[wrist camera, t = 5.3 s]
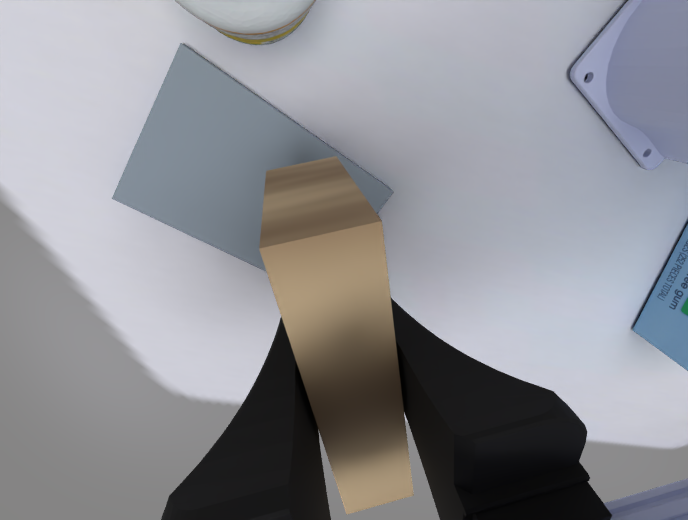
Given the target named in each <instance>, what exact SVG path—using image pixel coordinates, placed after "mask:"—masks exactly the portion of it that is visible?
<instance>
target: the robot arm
mask: <svg viewBox="0 0 688 520" xmlns="http://www.w3.org/2000/svg"><path fill="white" fill-rule="evenodd" d="M586 74H588V77H587V79H586V81H585V82H584V77H585V75H586ZM570 78H571V80H572V81H573V83H574V84H575V85H576V86H577V87H578V89H579V90H580V91H581V92H582V94H583V95H584V96H585V97H586V99H587V100H588V101H589V102H590V104H591V105H592V106H593V107H594V108H595V110H596V111H597V112H598V113H599V115H600V116H601V117H602V118H603V120H604V121H605V122H606V123H607V125H608V126H609V127H610V128H611V129H612V131H613V132H614V133H615V134H616V136H617V137H618V138H619V139H620V141H621V142H622V143H623V144H624V145H625V147H626V148H627V149H628V150H629V152H630V153H631V154H632V155H633V157H634V158H635V159H636V160H637V162H638V163H639V164H640V165H641V166H642V168H644V169H647V170H652V169H654V168H656V167H657V166H658V165H659V164H660V163H661V162H662V161H663V160H664V159H665V158H667V159H671V160H675V161H679V162H683V163H687V164H688V0H628V1H627V2H626V4H625V5H624V6H623V7H622V8H621V10H620V11H619V12H618V13H617V14H616V15H615V17H614V18H613V19H612V20H611V21H610V23H609V24H608V25H607V26H606V27H605V28H604V30H603V31H602V32H601V33H600V34H599V36H598V37H597V38H596V39H595V40H594V42H593V43H592V44H591V45H590V46H589V47H588V49H587V50H586V51H585V52H584V53H583V55H582V56H581V57H580V58H579V59H578V61H577V62H576V63H575V64H574V65H573V67H572V69H571V71H570ZM643 153H644V154H643ZM391 305H392V314H393V322H394V331H395V340H396V348H397V357H398V365H399V374H400V383H401V391H402V400H403V408H404V413H405V415H406V418H407V420H408V423H409V426H410V429H411V432H412V435H413V438H414V440H415V444H416V446H417V450H418V452H419V456H420V459H421V462H422V465H423V468H424V470H425V474H426V477H427V480H428V483H429V486H430V489H431V492H432V495H433V499H434V502H435V505H436V508H437V511H438V514H439V517H440V520H688V478H687V479H684V480H680V481H677V482H674V483H670V484H667V485H664V486H660V487H657V488H654V489H650V490H647V491H644V492H640V493H637V494H633V495H630V496H626V497H623V498H620V499H616V500H613V501H610V502H606V503H603V502H602V501H601V499H600V498H599V497H598V495H597V494H596V493H595V491H594V490H593V489H592V487H591V486H590V485H589V483H588V482H587V481H589V479H590V477H589V475H588V473H587V472H586V471H585V469H584V468H583V466H582V465H581V464H580V463H579V459H580V457H581V454H582V451H583V448H584V445H585V443H586V437H587V430H586V427H585V425H584V423H583V422H582V421H581V420H580V419H579V418H578V416H577V415H576V414H575V413H574V412H573V411H572V410H571V408H570V407H569V406H568V405H567V404H566V403H565V402H564V401H563V400H562V399H560V398H559V397H558V396H557V395H556V394H555V393H554V392H553V391H551V390H548V389H545V388H542V387H539V386H537V385H534V384H531V383H528V382H525V381H522V380H519V379H517V378H514V377H512V376H510V375H507V374H505V373H503V372H500V371H498V370H496V369H493V368H491V367H489V366H487V365H485V364H483V363H481V362H479V361H477V360H475V359H473V358H471V357H469V356H467V355H466V354H464V353H462V352H460V351H459V350H457V349H455V348H454V347H452V346H451V345H449V344H447V343H446V342H444V341H443V340H441V339H440V338H438V337H437V336H436V335H434V334H433V333H431V332H430V331H429V330H427V329H426V328H425V327H423V326H422V325H421V324H420V323H418V322H417V321H416V320H415V319H414V318H412V317H411V316H410V315H409V314H408V313H407V312H405V311H404V310H403V309H402V308H401V307H400V306H399V305H398V304H397V303H396V302H395V301H394V300H393V299H392V298H391ZM161 520H331V517H330V511H329V505H328V499H327V492H326V485H325V478H324V472H323V465H322V458H321V451H320V443H319V433H318V426H317V423H316V420H315V417H314V414H313V411H312V408H311V405H310V401H309V398H308V395H307V392H306V389H305V386H304V383H303V380H302V377H301V374H300V371H299V368H298V365H297V362H296V359H295V356H294V353H293V350H292V347H291V344H290V341H289V338H288V335H287V332H286V329H285V326H284V323H283V320H282V316H281V319H280V323H279V326H278V329H277V332H276V335H275V338H274V341H273V343H272V346H271V348H270V351H269V353H268V356H267V358H266V360H265V363H264V365H263V367H262V369H261V371H260V373H259V375H258V377H257V379H256V381H255V383H254V385H253V387H252V389H251V390H250V392H249V394H248V396H247V397H246V399H245V401H244V402H243V404H242V406H241V407H240V409H239V410H238V412H237V413H236V415H235V416H234V418H233V419H232V421H231V423H230V424H229V425H228V427H227V428H226V430H225V431H224V433H223V434H222V435H221V436H220V438H219V439H218V440H217V441H216V443H215V444H214V445H213V447H212V448H211V449H210V451H209V452H208V453H207V454H206V456H205V457H204V458H203V459H202V461H201V462H200V463H199V464H198V465H197V466H196V467H195V469H194V470H193V471H192V472H191V473H190V474H189V475H188V476H187V477H186V479H185V480H184V481H183V482H182V483H181V484H180V485H179V486H178V487H177V488H176V490H174V492H173V493H172V494H171V495H170V496H169V498H168V502H167V505H166V507H165V510H164V513H163V516H162V519H161Z"/></svg>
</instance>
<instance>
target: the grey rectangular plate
mask: <svg viewBox="0 0 688 520" xmlns="http://www.w3.org/2000/svg"><path fill="white" fill-rule="evenodd" d="M334 156H337V158H338V159H339V161H340V162H341V164H342V165H343V166H344V168H345V169H346V171H347V172H348V174H349V175H350V176H351V178H352V179H353V181H354V182H355V184H356V185H357V186H358V188H359V189H360V191H361V192H362V194H363V195H364V196H365V198H366V199H367V201H368V202H369V204H370V205H371V206H372V208H373V209H374V211H375V212H376V214H377V213H378V212H379V211H380V209H381V208H382V207H383V205H384V204H385V203H386V201H387V200H388V199H389V197H390V196H391V195H392V193H393V191H392V190H391V189H390V188H389V187H387V186H386V185H385V184H383V183H382V182H380V181H379V180H377V179H376V178H375V177H373V176H372V175H370V174H369V173H368V172H366V171H365V170H363V169H362V168H360V167H359V166H358V165H356V164H355V163H353V162H352V161H350V160H349V159H348V158H346V157H345V156H343V155H342V154H340V153H339V152H338V151H336V150H335V149H333V148H332V147H330V146H329V145H328V144H326V143H325V142H323V141H322V140H320V139H319V138H318V137H316V136H315V135H313V134H312V133H310V132H309V131H308V130H306V129H305V128H303V127H302V126H300V125H299V124H298V123H296V122H295V121H293V120H292V119H290V118H289V117H288V116H286V115H285V114H283V113H282V112H280V111H279V110H278V109H276V108H275V107H273V106H272V105H270V104H269V103H268V102H266V101H265V100H263V99H262V98H260V97H259V96H258V95H256V94H255V93H253V92H252V91H250V90H249V89H248V88H246V87H245V86H243V85H242V84H240V83H239V82H238V81H236V80H235V79H233V78H232V77H230V76H229V75H228V74H226V73H225V72H223V71H222V70H220V69H219V68H218V67H216V66H215V65H213V64H212V63H210V62H209V61H208V60H206V59H205V58H203V57H202V56H200V55H199V54H198V53H196V52H195V51H193V50H192V49H190V48H189V47H188V46H186V45H185V44H182V43H181V44H180V46H179V48H178V50H177V53H176V55H175V57H174V59H173V62H172V64H171V66H170V68H169V71H168V73H167V75H166V77H165V80H164V82H163V84H162V86H161V89H160V91H159V93H158V96H157V98H156V100H155V102H154V105H153V107H152V109H151V111H150V114H149V116H148V118H147V120H146V123H145V125H144V127H143V129H142V132H141V134H140V136H139V138H138V141H137V143H136V145H135V147H134V150H133V152H132V154H131V156H130V159H129V161H128V163H127V166H126V168H125V170H124V172H123V175H122V177H121V179H120V181H119V184H118V186H117V188H116V190H115V193H114V195H113V197H112V199H114V200H116V201H118V202H120V203H122V204H124V205H127V206H129V207H131V208H133V209H135V210H137V211H139V212H141V213H143V214H146V215H148V216H150V217H152V218H154V219H156V220H158V221H160V222H162V223H165V224H167V225H169V226H171V227H173V228H175V229H177V230H179V231H182V232H184V233H186V234H188V235H190V236H192V237H194V238H196V239H198V240H201V241H203V242H205V243H207V244H209V245H211V246H213V247H215V248H218V249H220V250H222V251H224V252H226V253H228V254H230V255H232V256H234V257H237V258H239V259H241V260H243V261H245V262H247V263H249V264H251V265H253V266H256V267H258V268H260V269H262V270H264V271H266V268H265V265H264V262H263V259H262V256H261V253H260V250H259V245H260V234H261V223H262V211H263V200H264V189H265V178H266V171H268V170H272V169H277V168H282V167H287V166H291V165H296V164H301V163H306V162H310V161H315V160H320V159H325V158H330V157H334ZM266 272H267V271H266Z"/></svg>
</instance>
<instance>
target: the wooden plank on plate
mask: <svg viewBox="0 0 688 520" xmlns="http://www.w3.org/2000/svg"><path fill="white" fill-rule="evenodd" d="M259 250H260V253H261V256H262V259H263V262H264V265H265V268H266V271H267V274H268V277H269V280H270V283H271V286H272V289H273V292H274V295H275V298H276V301H277V304H278V307H279V310H280V313H281V316H282V320H283V323H284V326H285V329H286V332H287V335H288V338H289V341H290V344H291V347H292V350H293V353H294V356H295V359H296V362H297V365H298V368H299V371H300V374H301V377H302V380H303V383H304V386H305V389H306V392H307V395H308V398H309V401H310V405H311V408H312V411H313V414H314V417H315V420H316V423H317V426H318V429H319V432H320V435H321V437H322V441H323V444H324V447H325V450H326V453H327V456H328V459H329V462H330V465H331V468H332V471H333V474H334V477H335V480H336V483H337V486H338V490H339V492H340V495H341V499H342V502H343V504H344V508H345V511H346V514H350V513H353V512H357V511H361V510H364V509H367V508H371V507H375V506H378V505H382V504H385V503H389V502H392V501H396V500H399V499H403V498H406V497H410V496H413V486H412V477H411V469H410V461H409V452H408V443H407V434H406V426H405V417H404V408H403V400H402V391H401V383H400V374H399V365H398V357H397V348H396V340H395V331H394V322H393V314H392V305H391V296H390V288H389V279H388V271H387V262H386V253H385V245H384V236H383V228H382V221H381V219H380V218H379V216H378V215H377V214H376V212H375V211H374V209H373V208H372V206H371V205H370V204H369V202H368V201H367V199H366V198H365V196H364V195H363V194H362V192H361V191H360V189H359V188H358V186H357V185H356V184H355V182H354V181H353V179H352V178H351V176H350V175H349V174H348V172H347V171H346V169H345V168H344V166H343V165H342V164H341V162H340V161H339V159H338V158H337V156H334V157H330V158H325V159H320V160H315V161H310V162H306V163H301V164H296V165H291V166H287V167H282V168H277V169H272V170H268V171H266V178H265V189H264V200H263V211H262V223H261V234H260V245H259Z"/></svg>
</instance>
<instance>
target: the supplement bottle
mask: <svg viewBox="0 0 688 520" xmlns="http://www.w3.org/2000/svg"><path fill="white" fill-rule="evenodd" d="M175 1H176V2H177V3H178V4H180V5H181V6H182V7H183V8H184V9H186V10H187V11H188V12H190V13H191V14H193V15H194V16H196V17H197V18H199V19H200V20H202V21H203V22H205V23H207V24H208V25H210V26H211V27H213V28H215V29H216V30H218V31H219V32H220V33H222V34H224V35H225V36H227V37H229V38H232V39H234V40H236V41H239V42H242V43H246V44H253V45H264V44H270V43H274V42H277V41H279V40H281V39H283V38H285V37H287V36H288V35H289V34H291V33H292V32H293V31H294V30H295V29H296V28H297V27H298V26H299V25H300V24H301V23H302V21H303V20H304V19H305V17H306V15H307V14H308V12H309V10H310V9H311V7H312V5H313V4H314V2H315V0H175Z"/></svg>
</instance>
